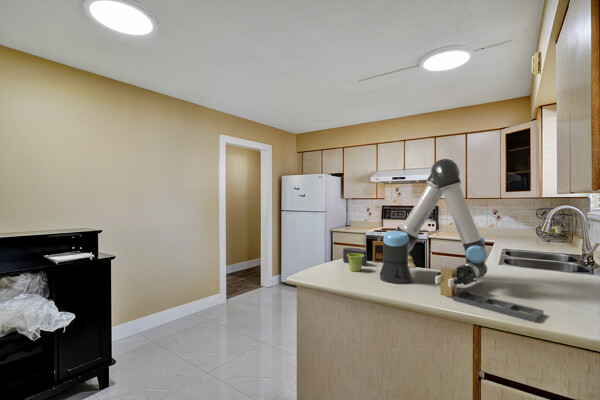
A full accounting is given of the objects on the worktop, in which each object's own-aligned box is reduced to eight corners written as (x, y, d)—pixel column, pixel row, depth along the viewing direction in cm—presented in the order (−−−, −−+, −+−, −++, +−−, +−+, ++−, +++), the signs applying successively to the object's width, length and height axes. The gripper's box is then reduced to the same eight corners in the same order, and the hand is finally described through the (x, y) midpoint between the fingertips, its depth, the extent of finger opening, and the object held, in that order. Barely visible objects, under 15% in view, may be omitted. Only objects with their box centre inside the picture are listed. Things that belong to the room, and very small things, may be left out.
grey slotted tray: (453, 300, 115) (453, 296, 115) (463, 295, 121) (463, 291, 121) (535, 322, 94) (535, 317, 94) (543, 315, 101) (543, 310, 101)
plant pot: (367, 270, 161) (367, 255, 161) (357, 273, 155) (357, 257, 155) (353, 267, 168) (353, 252, 168) (343, 270, 162) (343, 254, 161)
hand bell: (409, 264, 178) (409, 238, 178) (418, 267, 171) (419, 240, 171) (398, 265, 176) (398, 238, 176) (407, 268, 168) (407, 240, 168)
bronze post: (440, 294, 121) (440, 268, 121) (445, 292, 124) (445, 267, 124) (451, 297, 118) (451, 270, 118) (456, 295, 121) (456, 269, 121)
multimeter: (389, 259, 191) (389, 229, 191) (390, 263, 181) (391, 231, 181) (366, 258, 194) (366, 228, 194) (366, 261, 184) (367, 230, 184)
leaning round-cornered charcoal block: (369, 265, 174) (369, 249, 174) (365, 266, 171) (365, 250, 171) (346, 261, 185) (346, 246, 185) (342, 262, 182) (342, 247, 182)
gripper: (488, 285, 125) (465, 296, 111) (446, 277, 139) (421, 285, 124) (488, 268, 125) (465, 277, 111) (447, 261, 139) (422, 268, 124)
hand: (442, 281), depth 118 cm, fingers closed on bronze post, 4 cm apart
